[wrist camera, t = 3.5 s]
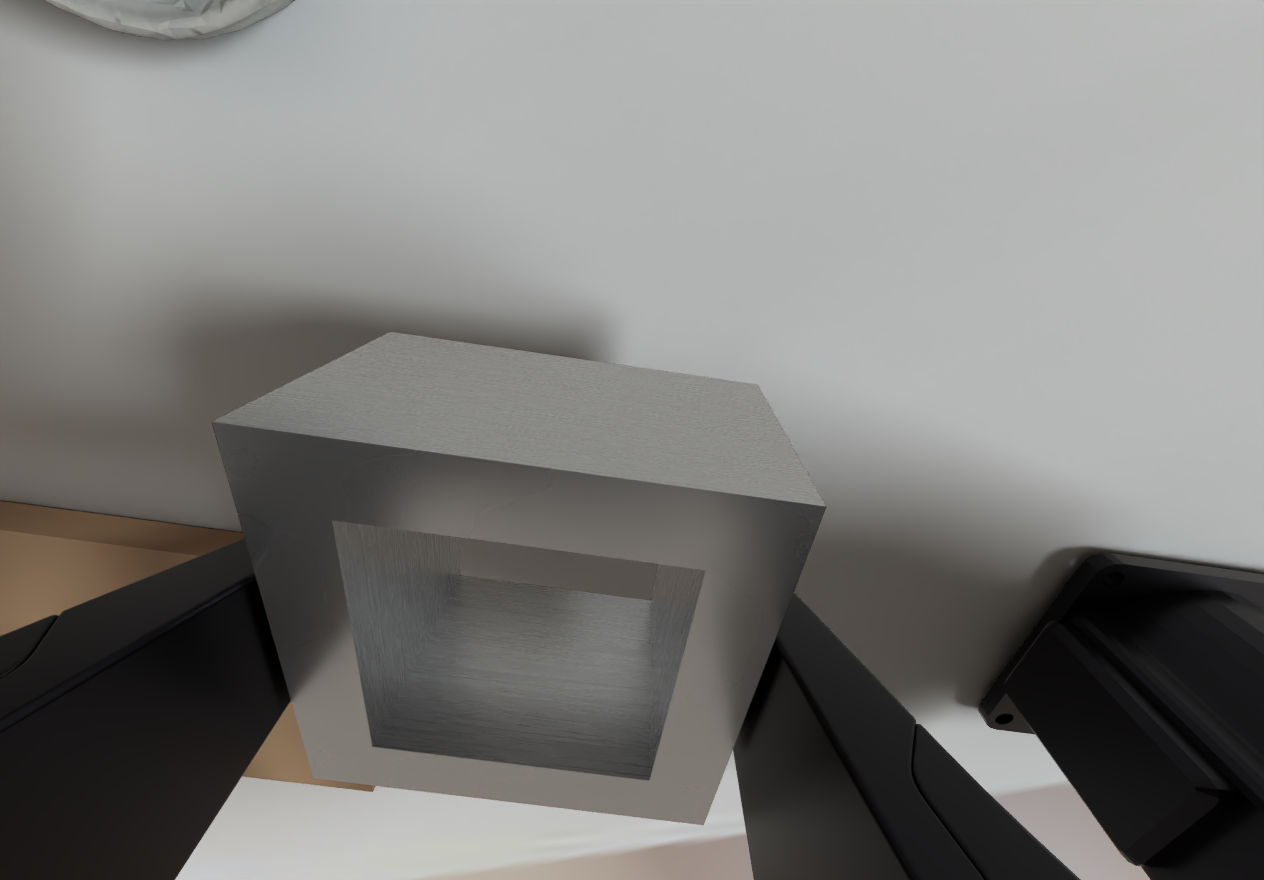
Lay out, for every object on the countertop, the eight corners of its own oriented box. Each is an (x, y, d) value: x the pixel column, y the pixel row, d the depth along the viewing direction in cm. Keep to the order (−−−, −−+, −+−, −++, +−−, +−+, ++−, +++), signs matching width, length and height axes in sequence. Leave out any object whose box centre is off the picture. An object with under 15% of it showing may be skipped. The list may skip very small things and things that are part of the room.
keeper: (352, 547, 13) (76, 866, 7) (387, 761, 18) (240, 1072, 11) (-25, 497, 13) (-670, 782, 7) (108, 727, 17) (-200, 1027, 11)
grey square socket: (757, 384, 8) (826, 506, 5) (688, 639, 11) (703, 825, 7) (390, 331, 8) (211, 421, 5) (415, 604, 10) (313, 777, 7)
